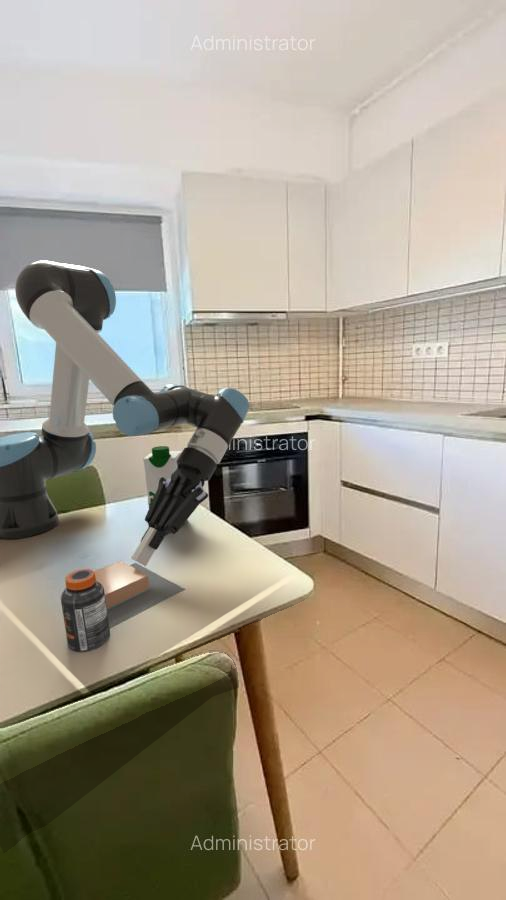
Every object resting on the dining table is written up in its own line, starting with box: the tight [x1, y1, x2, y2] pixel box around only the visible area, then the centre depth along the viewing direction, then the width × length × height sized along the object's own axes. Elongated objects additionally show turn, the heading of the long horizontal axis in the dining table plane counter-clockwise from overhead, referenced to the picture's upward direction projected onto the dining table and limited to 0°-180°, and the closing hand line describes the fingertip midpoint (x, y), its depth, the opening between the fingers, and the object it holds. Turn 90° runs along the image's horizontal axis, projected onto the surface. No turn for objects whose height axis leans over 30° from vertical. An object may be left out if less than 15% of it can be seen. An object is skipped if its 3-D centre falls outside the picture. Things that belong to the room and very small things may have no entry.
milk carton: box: [142, 445, 183, 527], centre depth 109 cm, size 9×9×20 cm
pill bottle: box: [60, 568, 111, 653], centre depth 65 cm, size 6×6×11 cm
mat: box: [107, 562, 186, 630], centre depth 79 cm, size 16×15×1 cm
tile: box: [93, 560, 149, 611], centre depth 78 cm, size 9×3×9 cm
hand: (138, 562), depth 82 cm, fingers closed
